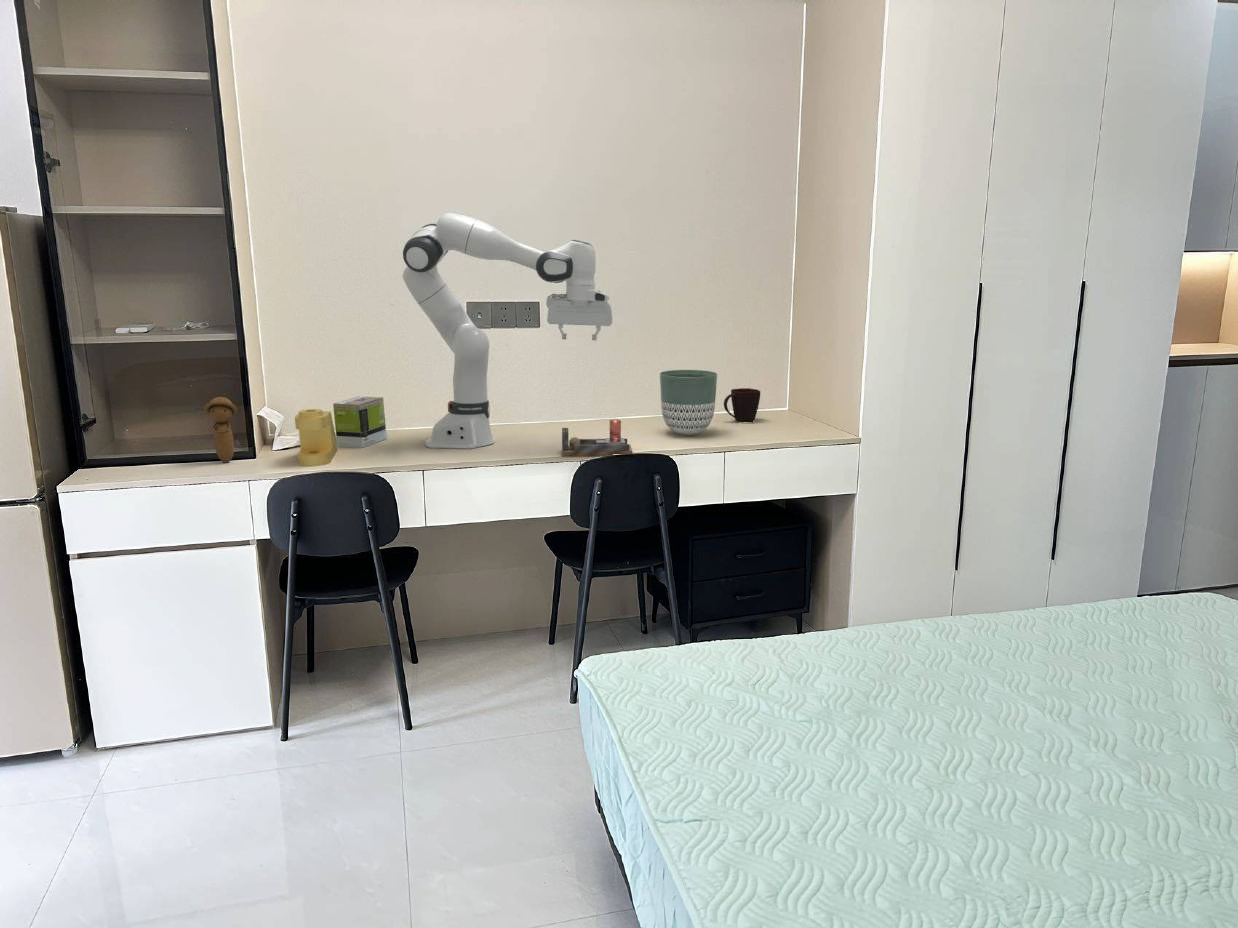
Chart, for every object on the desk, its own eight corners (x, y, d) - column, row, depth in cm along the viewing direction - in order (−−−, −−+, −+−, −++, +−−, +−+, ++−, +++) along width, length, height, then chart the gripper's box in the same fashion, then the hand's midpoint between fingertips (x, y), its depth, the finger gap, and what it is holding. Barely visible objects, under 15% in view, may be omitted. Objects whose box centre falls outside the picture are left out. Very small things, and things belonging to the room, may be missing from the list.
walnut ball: (569, 449, 278) (569, 438, 277) (569, 447, 281) (569, 436, 280) (580, 449, 278) (580, 438, 277) (580, 447, 282) (580, 436, 281)
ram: (596, 450, 277) (596, 422, 275) (596, 445, 283) (595, 418, 281) (625, 449, 277) (625, 422, 275) (623, 445, 284) (623, 418, 282)
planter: (725, 437, 304) (727, 375, 299) (674, 441, 297) (675, 378, 292) (699, 427, 322) (700, 368, 317) (650, 431, 315) (650, 371, 310)
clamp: (328, 465, 263) (324, 413, 260) (296, 467, 262) (291, 414, 258) (337, 451, 282) (333, 402, 279) (307, 452, 281) (303, 403, 277)
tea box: (362, 437, 303) (359, 395, 300) (387, 439, 300) (384, 396, 297) (335, 446, 290) (332, 402, 286) (362, 448, 287) (359, 403, 283)
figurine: (207, 465, 263) (200, 399, 259) (212, 460, 270) (205, 395, 265) (240, 464, 265) (233, 398, 261) (244, 458, 272) (237, 394, 267)
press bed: (562, 456, 275) (562, 433, 273) (562, 449, 285) (561, 427, 283) (632, 455, 276) (632, 432, 275) (630, 448, 286) (630, 426, 284)
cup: (763, 423, 330) (764, 391, 327) (730, 425, 324) (731, 393, 322) (749, 418, 339) (750, 387, 336) (717, 421, 333) (718, 389, 330)
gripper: (546, 293, 267) (545, 339, 271) (613, 296, 269) (612, 341, 272) (546, 293, 274) (545, 337, 277) (612, 295, 275) (610, 339, 278)
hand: (579, 339), depth 274 cm, fingers open, 8 cm apart
